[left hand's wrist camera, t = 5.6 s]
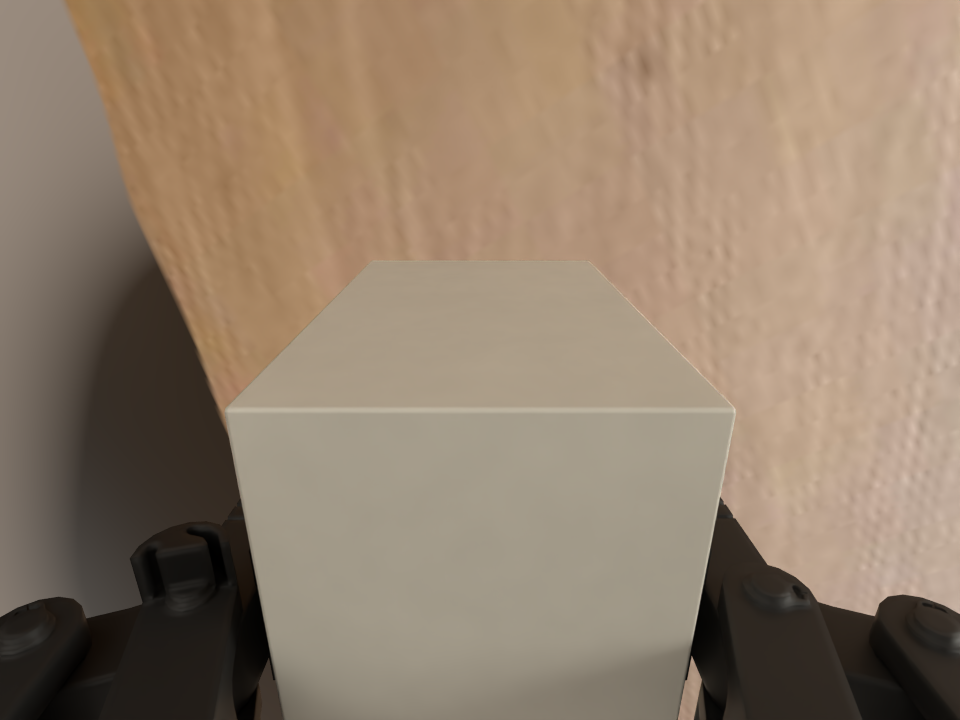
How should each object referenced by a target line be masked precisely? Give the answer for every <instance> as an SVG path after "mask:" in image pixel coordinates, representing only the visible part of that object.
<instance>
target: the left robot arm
mask: <svg viewBox="0 0 960 720" xmlns="http://www.w3.org/2000/svg"><path fill="white" fill-rule="evenodd" d="M130 561H131V564H132V567H133V571H134V574H135V578H136V581H137V584H138V588H139V591H140V595H141V598H142V602H143V603H142V605H139V606H135V607H132V608H129V609H125V610H120V611H116V612H112V613H108V614H104V615H99V616H95V617H91V618H86V617H85V614H84V611H83V608H82V606H81V605H80V604H79V603H78V602H76V601H75V600H74V599H70V598H63V597H55V598H48V599H42V600H37V601H35V602H32V603H29V604H26V605H24V606H21V607H18V608H16V609H14V610H12V611H11V612H9V613H7V614H5V615H4V616H2V617H0V720H260V719H261V708H262V700H261V693H260V687H259V683H258V682H259V680H260V677H261V675H262V672H263V670H264V668H265V665H266V663H267V660H268V658H269V660H270V665H271V670H272V675H273V680H275V675H274V670H273V665H272V659H271V654H270V649H269V644H268V638H267V633H266V628H265V623H264V617H263V612H262V607H261V602H260V596H259V591H258V586H257V581H256V575H255V570H254V565H253V559H252V554H251V549H250V544H249V538H248V533H247V528H246V523H245V517H244V512H243V507H242V502H241V499H240V500H239V501H238V503H237V506H236V507H234V509H233V510H232V512H231V513H230V514H229V516H228V520H225V522H224V523H223V525H222V526H221V525H219V524H215V523H211V522H207V521H205V522H189V523H185V524H181V525H177V526H173V527H170V528H168V529H166V530H164V531H162V532H160V533H157V534H155V535H153V536H152V537H151V538H149V539H148V540H147V541H145V542H144V543H143V544H141V545H140V546H139V547H138V548H137V550H136V551H135V552H134V554H133V555H132V556H131V558H130ZM691 656H692V657H693V659H694V662H695V664H696V666H697V669H698V671H699V674H700V676H701V678H702V682H701V687H700V692H699V697H698V702H697V707H696V712H695V716H694V720H960V614H958V613H956V612H955V611H953V610H951V609H949V608H947V607H946V606H944V605H941V604H938V603H936V602H933V601H930V600H927V599H924V598H921V597H914V596H908V595H897V596H890V597H887V598H886V599H885V600H883V601H882V602H881V603H880V604H879V607H878V610H877V612H876V615H875V616H871V615H866V614H862V613H858V612H854V611H849V610H845V609H841V608H837V607H832V606H829V605H826V604H823V603H819V602H817V600H816V599H815V597H814V596H813V594H812V593H811V591H810V589H809V588H807V587H806V586H805V585H804V584H803V583H802V582H800V581H799V580H798V579H797V578H796V577H794V576H792V575H790V574H788V573H786V572H785V571H783V570H781V569H779V568H776V567H772V566H769V565H767V564H766V562H765V561H764V559H763V558H762V556H761V555H760V553H759V552H758V551H757V549H756V548H755V546H754V545H753V543H752V542H751V540H750V539H749V538H748V536H747V535H746V533H745V532H744V530H743V529H742V527H741V526H740V525H739V523H738V522H737V520H736V519H735V518H733V515H732V513H731V512H730V510H729V509H728V507H727V506H726V505H724V503H723V500H722V499H721V497H720V500H719V505H718V510H717V516H716V521H715V526H714V531H713V537H712V542H711V547H710V552H709V557H708V563H707V568H706V573H705V578H704V584H703V589H702V594H701V599H700V605H699V610H698V615H697V620H696V626H695V631H694V636H693V641H692V647H691V652H690V657H689V662H688V668H687V673H686V678H685V680H687V677H688V672H689V667H690V661H691Z"/></svg>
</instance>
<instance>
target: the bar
mask: <svg viewBox="0 0 960 720" xmlns="http://www.w3.org/2000/svg"><path fill="white" fill-rule="evenodd" d="M735 416H736V410H735V407H734V406H733V405H732V404H731V403H730V402H729V401H728V400H727V399H726V398H725V397H724V396H723V395H722V394H721V393H720V392H719V391H718V390H717V389H716V388H715V387H714V386H713V385H712V384H711V383H710V382H709V381H708V380H707V379H706V378H705V377H704V376H703V375H702V374H701V373H700V372H699V371H698V370H697V369H696V368H695V367H694V366H693V365H692V364H691V363H690V362H689V361H688V360H687V359H686V358H685V357H684V356H683V355H682V354H681V353H680V352H679V351H678V350H677V349H676V348H675V347H674V346H673V345H672V344H671V343H670V342H669V341H668V340H667V339H666V338H665V337H664V336H663V335H662V334H661V333H660V332H659V331H658V330H657V329H656V328H655V327H654V326H653V325H652V324H651V323H650V322H649V321H648V320H647V319H646V318H645V317H644V316H643V315H642V314H641V313H640V312H639V311H638V310H637V309H636V308H635V307H634V306H633V305H632V304H631V303H630V302H629V301H628V300H627V299H626V298H625V297H624V296H623V295H622V294H621V293H620V292H619V291H618V290H617V289H616V288H615V287H614V286H613V285H612V284H611V283H610V282H609V281H608V280H607V279H606V278H605V277H604V276H603V275H602V274H601V273H600V271H599V270H598V269H597V268H596V267H595V266H594V265H593V264H592V263H591V262H590V261H371V262H370V263H369V264H368V265H367V266H366V267H365V268H364V269H363V270H362V271H361V272H360V273H359V274H358V275H357V276H356V277H355V278H354V279H353V280H352V281H351V282H350V283H349V284H348V285H347V286H346V287H345V288H344V289H343V290H342V291H341V292H340V293H339V294H338V295H337V296H336V297H335V298H334V299H333V300H332V301H331V302H330V303H329V304H328V305H327V306H326V307H325V308H324V309H323V310H322V311H321V312H320V313H319V314H318V315H317V316H316V317H315V318H314V319H313V320H312V321H311V322H310V323H309V324H308V325H307V326H306V327H305V328H304V329H303V330H302V331H301V332H300V333H299V334H298V335H297V336H296V337H295V338H294V339H293V340H292V342H291V343H290V344H289V345H288V346H287V347H286V348H285V349H284V350H283V351H282V352H281V353H280V354H279V355H278V356H277V357H276V358H275V359H274V360H273V361H272V362H271V363H270V364H269V365H268V366H267V367H266V368H265V369H264V370H263V371H262V372H261V373H260V374H259V375H258V376H257V377H256V378H255V379H254V380H253V381H252V382H251V383H250V384H249V385H248V386H247V387H246V388H245V389H244V390H243V391H242V392H241V393H240V394H239V395H238V396H237V397H236V398H235V399H234V400H233V401H232V402H231V403H230V404H229V405H228V406H227V407H226V409H225V418H226V423H227V428H228V433H229V439H230V444H231V449H232V454H233V460H234V465H235V470H236V475H237V481H238V486H239V491H240V496H241V502H242V507H243V512H244V517H245V523H246V528H247V533H248V538H249V544H250V549H251V554H252V559H253V565H254V570H255V575H256V581H257V586H258V591H259V596H260V602H261V607H262V612H263V617H264V623H265V628H266V633H267V638H268V644H269V649H270V654H271V659H272V665H273V670H274V675H275V680H276V686H277V691H278V696H279V701H280V707H281V712H282V717H283V720H678V715H679V709H680V704H681V699H682V694H683V688H684V683H685V678H686V673H687V668H688V662H689V657H690V652H691V647H692V641H693V636H694V631H695V626H696V620H697V615H698V610H699V605H700V599H701V594H702V589H703V584H704V578H705V573H706V568H707V563H708V557H709V552H710V547H711V542H712V537H713V531H714V526H715V521H716V516H717V510H718V505H719V500H720V495H721V489H722V484H723V479H724V474H725V468H726V463H727V458H728V453H729V447H730V442H731V437H732V432H733V426H734V421H735Z"/></svg>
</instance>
